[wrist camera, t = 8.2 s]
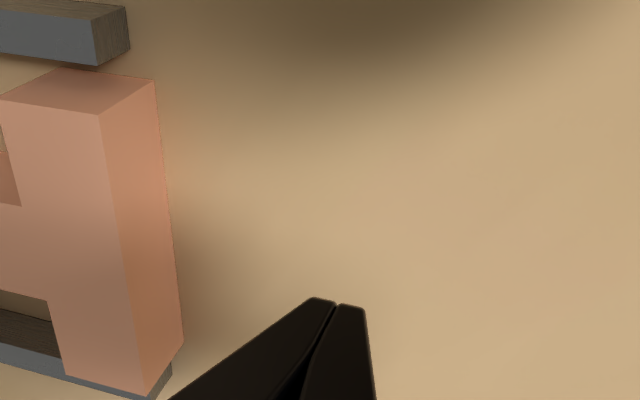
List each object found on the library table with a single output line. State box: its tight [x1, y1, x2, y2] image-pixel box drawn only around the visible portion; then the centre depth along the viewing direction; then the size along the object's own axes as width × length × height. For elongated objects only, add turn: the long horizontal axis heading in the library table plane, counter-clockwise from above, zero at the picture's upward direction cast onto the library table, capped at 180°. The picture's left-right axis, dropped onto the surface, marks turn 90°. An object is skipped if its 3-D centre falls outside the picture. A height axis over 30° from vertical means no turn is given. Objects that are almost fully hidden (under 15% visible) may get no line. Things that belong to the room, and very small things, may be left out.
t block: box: [0, 67, 184, 397], centre depth 26 cm, size 12×13×4 cm
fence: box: [0, 0, 172, 400], centre depth 26 cm, size 13×18×2 cm
